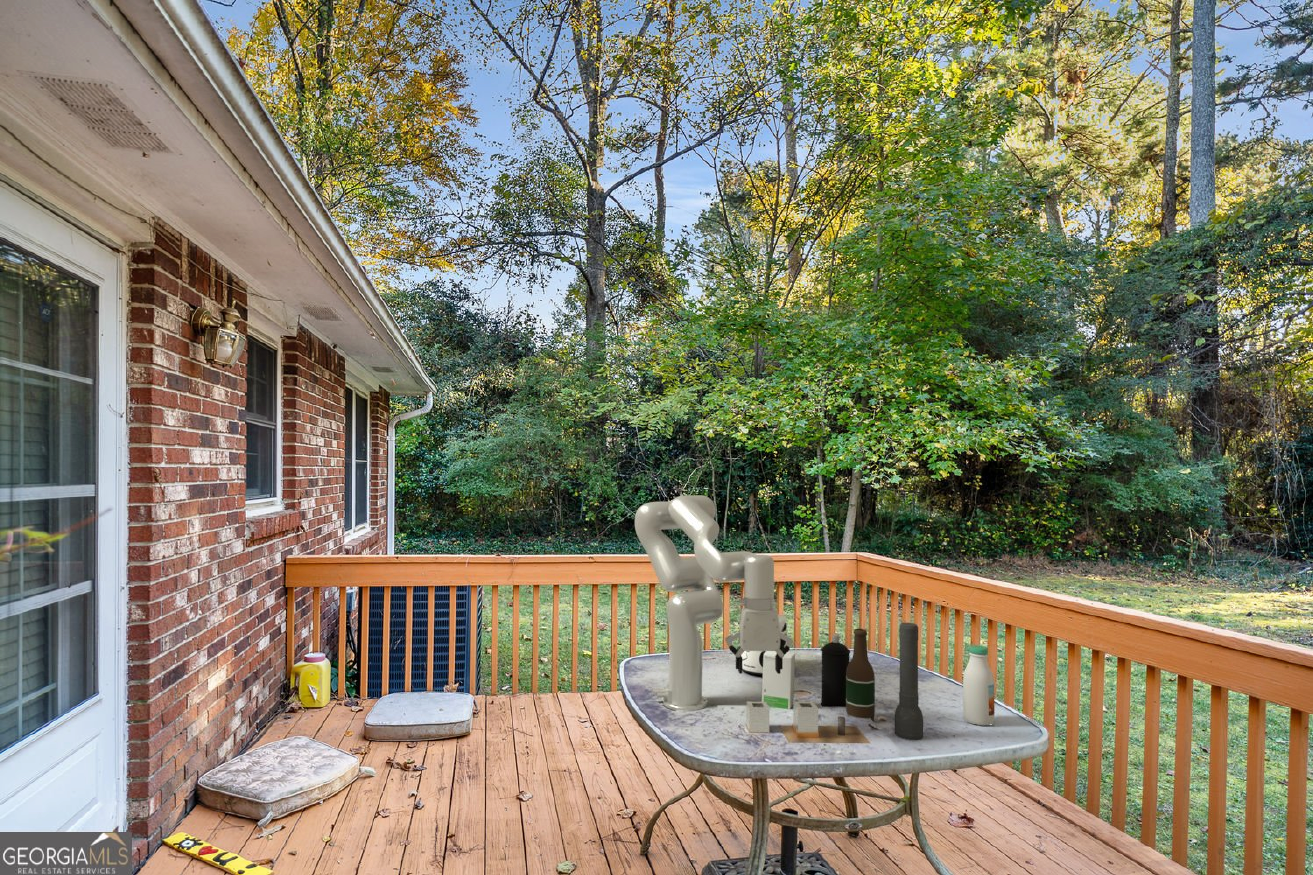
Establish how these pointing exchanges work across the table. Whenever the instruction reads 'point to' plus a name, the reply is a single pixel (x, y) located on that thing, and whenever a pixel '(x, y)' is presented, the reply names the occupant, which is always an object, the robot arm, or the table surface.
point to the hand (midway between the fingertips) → (759, 672)
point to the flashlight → (908, 686)
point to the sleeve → (757, 717)
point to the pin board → (828, 734)
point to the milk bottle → (978, 688)
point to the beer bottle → (860, 680)
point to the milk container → (760, 653)
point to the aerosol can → (834, 673)
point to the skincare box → (778, 681)
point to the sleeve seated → (805, 720)
